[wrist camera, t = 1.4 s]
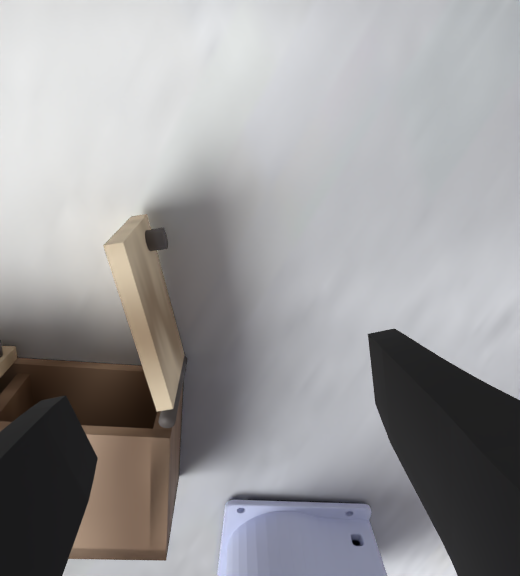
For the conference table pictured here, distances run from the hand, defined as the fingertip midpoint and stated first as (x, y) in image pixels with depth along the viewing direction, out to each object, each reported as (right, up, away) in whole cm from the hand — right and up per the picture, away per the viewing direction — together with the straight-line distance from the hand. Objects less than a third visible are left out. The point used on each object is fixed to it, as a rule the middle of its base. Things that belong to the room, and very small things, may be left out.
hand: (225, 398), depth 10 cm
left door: (-4, +2, +10) cm, 11 cm away
